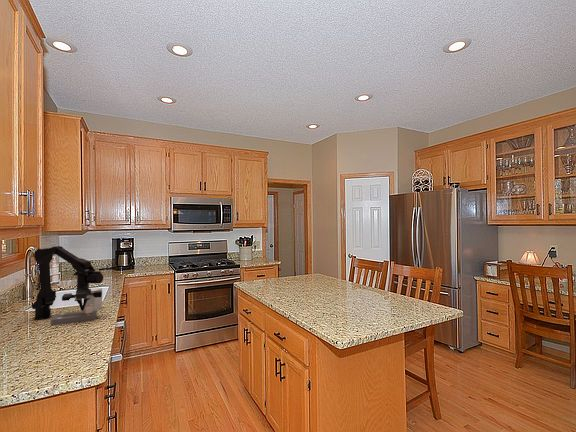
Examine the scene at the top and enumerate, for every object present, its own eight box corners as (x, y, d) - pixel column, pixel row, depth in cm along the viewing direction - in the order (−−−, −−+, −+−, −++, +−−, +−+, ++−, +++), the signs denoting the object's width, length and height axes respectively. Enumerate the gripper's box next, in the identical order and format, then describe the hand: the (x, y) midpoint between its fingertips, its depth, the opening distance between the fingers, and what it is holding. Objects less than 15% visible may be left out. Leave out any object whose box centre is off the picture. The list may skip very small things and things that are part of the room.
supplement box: (102, 308, 197) (102, 288, 198) (94, 311, 190) (94, 290, 190) (91, 307, 198) (92, 287, 198) (83, 310, 191) (83, 290, 191)
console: (50, 325, 163) (51, 319, 163) (55, 319, 174) (55, 314, 174) (95, 320, 173) (95, 314, 173) (96, 314, 183) (96, 309, 183)
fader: (85, 313, 173) (85, 305, 173) (86, 311, 178) (86, 303, 178) (91, 312, 175) (91, 305, 175) (92, 310, 179) (92, 303, 179)
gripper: (60, 287, 164) (59, 316, 163) (101, 284, 172) (100, 312, 172) (63, 283, 173) (63, 311, 173) (102, 280, 182) (102, 307, 182)
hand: (82, 310), depth 175 cm, fingers closed
